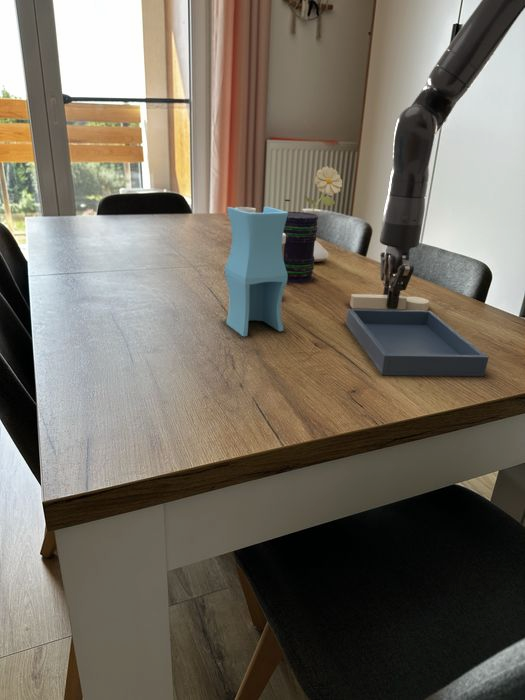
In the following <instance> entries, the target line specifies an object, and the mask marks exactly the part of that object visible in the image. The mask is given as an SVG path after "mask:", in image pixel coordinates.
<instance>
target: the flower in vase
mask: <svg viewBox="0 0 525 700" xmlns="http://www.w3.org/2000/svg"><path fill="white" fill-rule="evenodd" d="M315 174H316V176H315V180H314V184H315V185H316V187H317V188H318V191H319V192H320V193H321V196H320V198H319V199H318V201H317V202H316V200H315V199H312V198H310V197H308V196H306V195H304V200H305V201H306V202H307V203H309V204H312V205H314V207H313V208H302V211H303V213H310V214H315V215H317V216H318V217H319V215H320V213H321V212H322V209H319V208H317V206H318V205H319V203H320V202H321V203H322V204H323V205H324V206H326V207H329V206H333V205H336V202H335V200H334V199H333V198H332V197H333V196H335V194H338V193H340V192H341V188H342V187H343V179H341V174H339V172H338V171H337V169H334V168H333V167H332V166H330V167H329V166H328V165H326V166H323V167H322V168H321V169H318V170H317V171H316V173H315ZM324 195H326V196H324ZM323 196H324V197H323ZM313 256H314V263H320V262H323V261H326V260H328V258H329V256H330V255H329V252H328V251H327V250H326V248H325V247H323V245H321V244H320V243H319V241H317V239H316V240H315V243H314V254H313Z"/></svg>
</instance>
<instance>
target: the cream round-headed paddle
mask: <svg viewBox="0 0 525 700" xmlns="http://www.w3.org/2000/svg"><path fill="white" fill-rule="evenodd" d="M387 296H388V295H383V294H371V293H369V294H366V293H365V294H364V293H351V294H350V302H349V306H350V307H351V309H375V310H389V309H388V308H387V307H386V304H387ZM429 304H430V301H429V300H428V299H427V298H424V297H420V296H405V295H403V294H400V296H399V302H398V307H397V309H396V310H417V311H429Z"/></svg>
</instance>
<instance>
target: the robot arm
mask: <svg viewBox="0 0 525 700" xmlns="http://www.w3.org/2000/svg"><path fill="white" fill-rule="evenodd" d="M524 10H525V0H481V1H480V3H479V4H478V5H477V7H476V8H475V9H474V10H473V12H472V13H471V15H470V16H469V17H468V18H467V20H466V21H465V23H463V25H462V26H461V28H460V29H459V31H458V32H457V34H456V35H455V36H454V38H453V39H452V40H451V42H450V43H449V45H448V46H447V48H445V50H444V52H443V53H442V55H441V56H440V58H439V59H438V61H437V62H436V64H435V66H433V68H432V69H431V72H430V73H429V75H428V77H427V79H426V83H425V85H424V87H423V88H422V90H421V91H420V93H419V94H418V95H417V97H415V99H414V101H413V102H412V103H411V105H410V106H408V107H406V108H405V109H404V110H403V111H402V112H401V113H400V115H399V116H398V118H397V119H396V123H395V127H394V135H393V145H392V146H393V147H392V165H391V171H390V174H389V181H388V189H387V194H386V200H385V203H384V208H383V214H382V219H381V220H382V221H381V229H380V235H379V243H380V244H381V245H383V246H386V249H385V252H380V255H379V256H380V257H379V258H380V281H382V286H383V292H382V295H388V296H387V304H386V307H387V308H388V309H387V310H398V309H397V307H398V302H399V296H400V295H401V292H402V291H406V290H407V287H408V285H409V283H410V280H411V278H412V275H413V273H414V270H415V266H414V265H410V260H411V259H410V250H411V249H412V248H417V247H419V245H420V240H421V235H422V229H423V224H424V223H423V222H424V216H425V210H426V196H427V191H428V183H429V176H430V162H431V156H432V151H433V148H434V147H433V146H434V142H435V137H436V136H437V134H438V132H439V131H440V130H441V128H442V126H443V125H444V124H445V123H446V121H447V119H448V117H449V116H450V115H451V113H452V111H453V109H454V108H455V106H456V105H457V103H458V102H459V101H460V100H462V98H463V97H464V96H465V94H466V93H467V92H468V91H469V89H470V88H471V87H472V85H473V84H474V83H475V81H476V80H477V78H478V77H479V76H480V74H481V73H482V72H483V70H484V69H485V67H486V66H487V64H488V63H489V61H490V60H491V58H492V57H493V55H494V54H495V53H496V51H497V49H498V48H499V47H500V44H501V43H502V41H503V40H504V38H505V37H506V35H507V34H508V32H509V31H510V30H511V28H512V27H513V25H514V24H515V22H516V21H517V19H518V18H519V17H520V16H521V14H522V12H523V11H524Z"/></svg>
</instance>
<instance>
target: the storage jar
mask: <svg viewBox="0 0 525 700" xmlns="http://www.w3.org/2000/svg"><path fill="white" fill-rule="evenodd" d="M284 202H291V199H286V198H285V199H284ZM287 212H288V216H287V219H286V223H285V226H284V231H283V233H284V234H286V242H285V245H284V258H283V260H284V264H285V268H286V271H287V274H288V278H287V283H286V284H308V283H310V282H312V281H313V274H314V269H315V268H314V267H315V262H314V256H313V254H314V243H315V240H316V241H317V233H318V219H319V215H318V216H317V215H315V214H310V213H304V211H303V212H302V211H287Z"/></svg>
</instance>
